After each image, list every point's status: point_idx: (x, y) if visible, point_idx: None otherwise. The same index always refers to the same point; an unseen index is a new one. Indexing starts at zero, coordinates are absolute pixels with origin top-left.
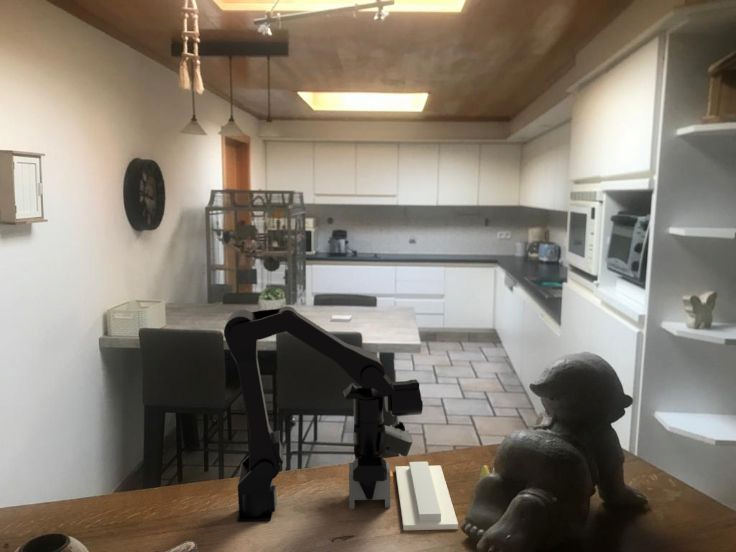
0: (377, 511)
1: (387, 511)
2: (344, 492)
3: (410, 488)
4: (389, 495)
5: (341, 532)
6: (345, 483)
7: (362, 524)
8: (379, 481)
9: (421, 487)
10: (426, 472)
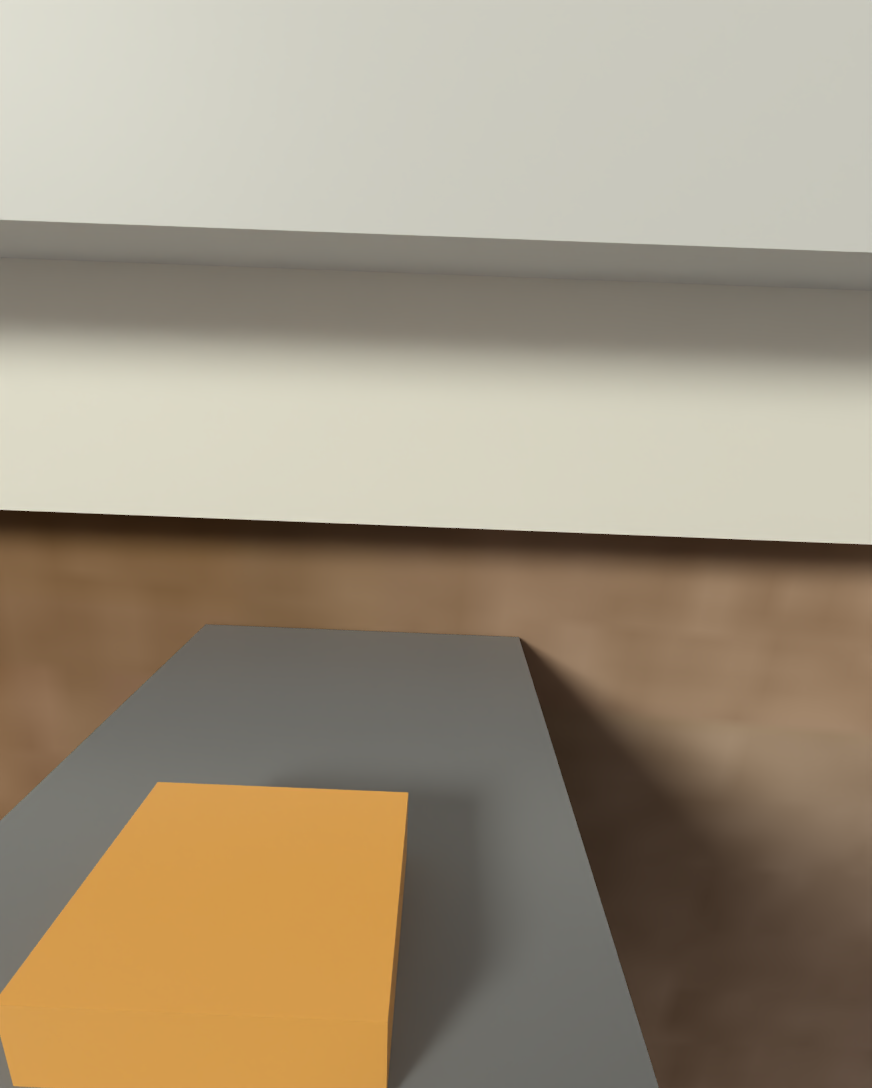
0: (574, 774)
1: (591, 674)
2: None
3: (126, 314)
4: (549, 749)
5: (851, 1064)
6: None
7: (778, 916)
8: None
9: (276, 32)
10: None
